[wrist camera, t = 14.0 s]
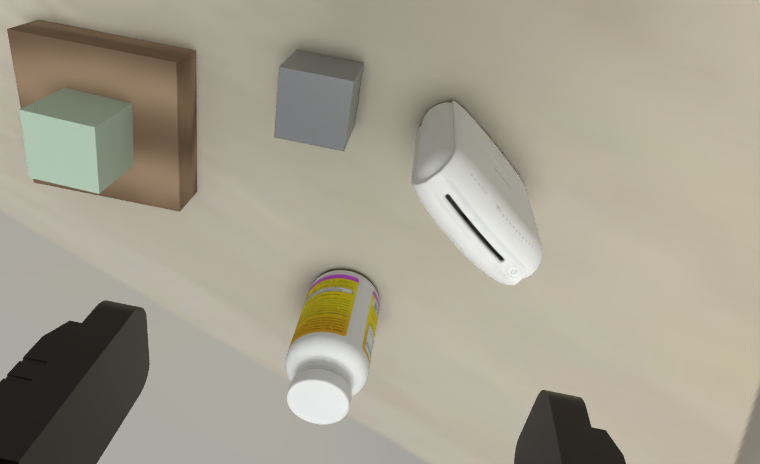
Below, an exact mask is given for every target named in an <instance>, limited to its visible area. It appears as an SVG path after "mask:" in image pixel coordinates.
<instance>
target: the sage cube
mask: <svg viewBox="0 0 760 464" xmlns="http://www.w3.org/2000/svg"><path fill="white" fill-rule="evenodd" d="M19 111H20V119H21V126H22V133H23V140H24V147H25V154H26V161H27V168H28V175H29V178H33V179H37V180H41V181H46V182H50V183H54V184H59V185H63V186H67V187H71V188H76V189H80V190H84V191H89V192H93V193H97V194H100V193H101V192H102V191H103V190H105V189H106V188H107V187H108V186H109V185H111V184H112V183H113V182H114V181H115V180H117V179H118V178H119V177H120V176H121V175H123V174H124V173H125V172H126V171H127V170H128V169H130V168H131V167H132V166H133V165H134V149H133V115H132V103H128V102H124V101H120V100H116V99H111V98H107V97H103V96H99V95H94V94H90V93H86V92H82V91H77V90H73V89H69V88H63V89H61V90H58V91H56V92H54V93H52V94H50V95H48V96H46V97H44V98H42V99H40V100H38V101H36V102H34V103H32V104H30V105H28V106H26V107H24V108H22V109H20V110H19Z"/></svg>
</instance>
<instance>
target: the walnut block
mask: <svg viewBox="0 0 760 464" xmlns="http://www.w3.org/2000/svg"><path fill="white" fill-rule="evenodd" d="M7 31H8V37H9V43H10V48H11V54H12V60H13V66H14V71H15V77H16V83H17V89H18V94H19V100H20V106H21V109H22V108H24V107H26V106H28V105H30V104H32V103H34V102H36V101H38V100H40V99H42V98H44V97H46V96H48V95H50V94H52V93H54V92H56V91H58V90H61V89H63V88H69V89H73V90H77V91H82V92H86V93H90V94H94V95H99V96H103V97H107V98H111V99H116V100H120V101H124V102H128V103H132V115H133V149H134V165H133V166H132V167H131V168H130V169H128V170H127V171H126V172H125V173H124V174H123V175H121V176H120V177H119V178H118V179H117V180H115V181H114V182H113V183H112V184H111V185H109V186H108V187H107V188H106V189H105V190H103V191H102V192H101V193H100V194H97V193H93V192H89V191H84V190H80V189H76V188H71V187H67V186H63V185H59V184H54V183H50V182H46V181H41V180H37V179H33V180H34V182H35V183H40V184H45V185H50V186H55V187H60V188H65V189H70V190H75V191H80V192H85V193H90V194H95V195H100V196H105V197H110V198H115V199H120V200H125V201H130V202H135V203H140V204H145V205H150V206H155V207H160V208H165V209H170V210H175V211H181V210H182V208H183V207H184V206H185V205H186V204H187V203H188V201H189V200H190V199H191V198H192V197H193V196H194V195H195V193H196V192H197V131H196V51H194V50H189V49H184V48H179V47H174V46H169V45H164V44H159V43H154V42H149V41H144V40H138V39H133V38H128V37H123V36H118V35H113V34H108V33H103V32H98V31H93V30H88V29H83V28H78V27H73V26H68V25H62V24H57V23H52V22H47V21H42V20H37V21H33V22H30V23H26V24H23V25H19V26H16V27H13V28H9V29H7Z"/></svg>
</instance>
